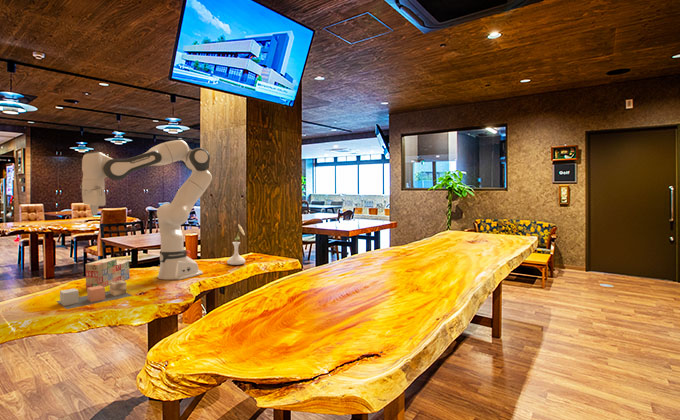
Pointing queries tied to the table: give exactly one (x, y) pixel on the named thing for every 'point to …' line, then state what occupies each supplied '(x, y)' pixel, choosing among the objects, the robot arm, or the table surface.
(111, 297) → the charcoal mat
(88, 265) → the stack of blocks
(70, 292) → the light gray cube
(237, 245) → the flower in vase
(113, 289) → the birch block
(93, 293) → the terracotta block
